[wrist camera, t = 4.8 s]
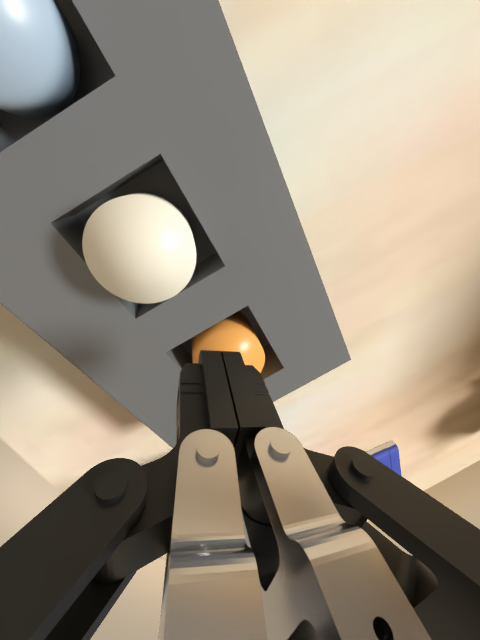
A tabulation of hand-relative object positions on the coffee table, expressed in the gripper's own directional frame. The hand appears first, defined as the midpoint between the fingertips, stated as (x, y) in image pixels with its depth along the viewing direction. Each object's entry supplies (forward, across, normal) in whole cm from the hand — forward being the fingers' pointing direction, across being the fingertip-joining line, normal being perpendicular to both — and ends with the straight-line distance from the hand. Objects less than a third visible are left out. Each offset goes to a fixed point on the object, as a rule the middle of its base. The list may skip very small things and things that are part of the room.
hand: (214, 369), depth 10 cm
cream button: (+7, +3, -3) cm, 8 cm away
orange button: (+8, -2, +3) cm, 8 cm away
